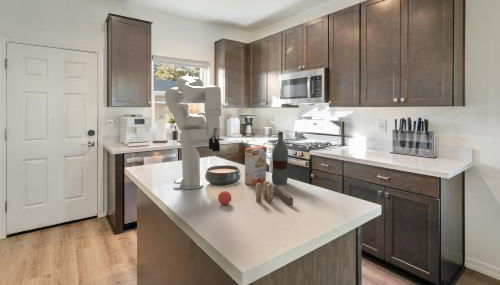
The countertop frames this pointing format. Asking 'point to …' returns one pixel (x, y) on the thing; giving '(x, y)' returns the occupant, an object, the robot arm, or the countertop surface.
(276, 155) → the bottle
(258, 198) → the front pin
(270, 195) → the pin
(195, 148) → the robot arm
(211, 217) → the countertop surface
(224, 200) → the ball
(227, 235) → the countertop surface
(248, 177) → the cracker box
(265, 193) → the pin
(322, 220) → the countertop surface
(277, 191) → the dark wooden bar
